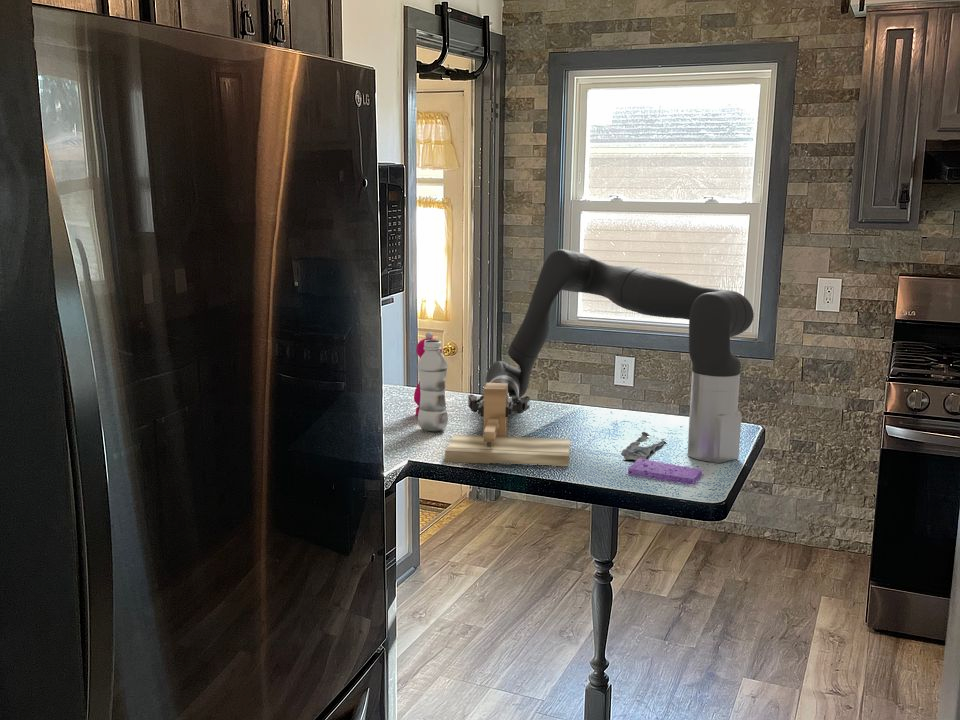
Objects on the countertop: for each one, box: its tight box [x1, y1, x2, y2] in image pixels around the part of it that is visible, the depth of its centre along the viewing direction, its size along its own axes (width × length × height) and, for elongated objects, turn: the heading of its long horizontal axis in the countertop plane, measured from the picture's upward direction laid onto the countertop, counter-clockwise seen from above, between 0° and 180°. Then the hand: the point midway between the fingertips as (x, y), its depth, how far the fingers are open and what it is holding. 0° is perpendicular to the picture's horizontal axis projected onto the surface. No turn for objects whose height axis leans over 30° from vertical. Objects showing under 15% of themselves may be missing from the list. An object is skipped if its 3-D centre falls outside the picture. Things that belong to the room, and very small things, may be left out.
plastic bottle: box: [417, 339, 449, 432], centre depth 191 cm, size 6×7×20 cm
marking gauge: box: [483, 383, 509, 447], centre depth 178 cm, size 18×4×12 cm, turn 174°
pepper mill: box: [413, 331, 443, 418], centre depth 204 cm, size 7×7×20 cm
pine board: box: [444, 434, 571, 467], centre depth 175 cm, size 12×24×2 cm, turn 83°
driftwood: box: [620, 431, 666, 461], centre depth 180 cm, size 21×7×2 cm, turn 152°
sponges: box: [627, 458, 703, 485], centre depth 164 cm, size 7×13×2 cm, turn 62°
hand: (494, 411), depth 181 cm, fingers closed on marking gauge, 4 cm apart
